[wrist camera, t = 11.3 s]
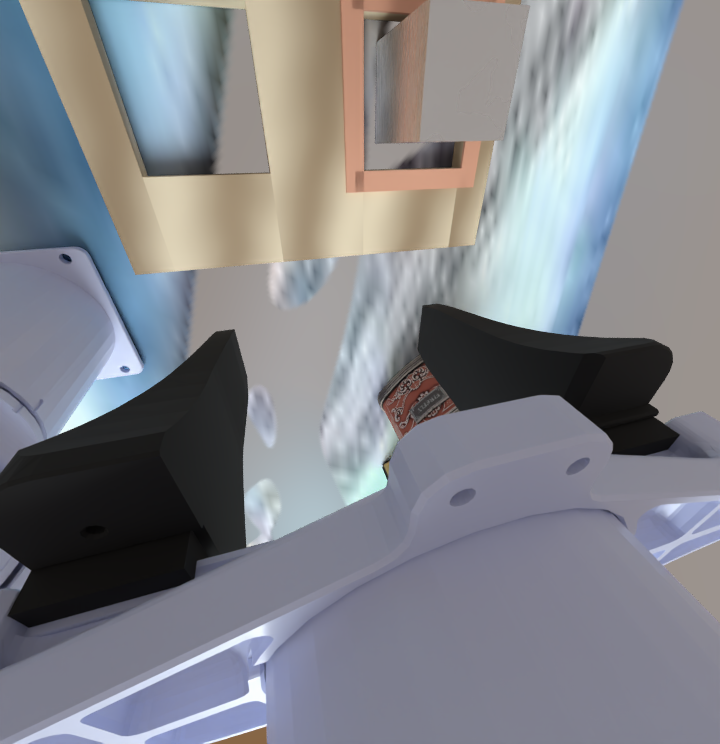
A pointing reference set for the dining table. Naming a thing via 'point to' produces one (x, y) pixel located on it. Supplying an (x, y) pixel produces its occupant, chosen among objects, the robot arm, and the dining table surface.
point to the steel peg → (448, 72)
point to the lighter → (414, 398)
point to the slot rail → (283, 145)
